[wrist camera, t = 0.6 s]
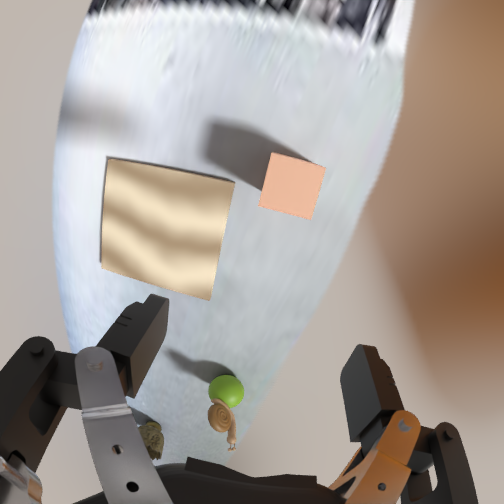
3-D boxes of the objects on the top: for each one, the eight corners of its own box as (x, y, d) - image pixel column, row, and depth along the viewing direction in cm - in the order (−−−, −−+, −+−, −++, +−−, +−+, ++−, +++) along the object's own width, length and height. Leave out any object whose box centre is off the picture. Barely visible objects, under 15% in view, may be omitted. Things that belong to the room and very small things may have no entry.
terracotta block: (272, 151, 29) (271, 152, 22) (313, 163, 29) (325, 167, 22) (262, 191, 31) (258, 206, 23) (302, 202, 31) (310, 220, 23)
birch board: (112, 158, 31) (108, 159, 30) (235, 182, 31) (233, 183, 30) (105, 265, 36) (101, 268, 35) (211, 296, 36) (209, 300, 35)
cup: (174, 435, 51) (165, 463, 43) (145, 430, 51) (134, 456, 44) (165, 417, 48) (153, 447, 41) (134, 411, 49) (121, 439, 41)
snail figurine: (229, 396, 43) (217, 454, 32) (205, 374, 42) (187, 433, 30) (255, 387, 42) (249, 448, 31) (232, 363, 40) (219, 426, 29)
